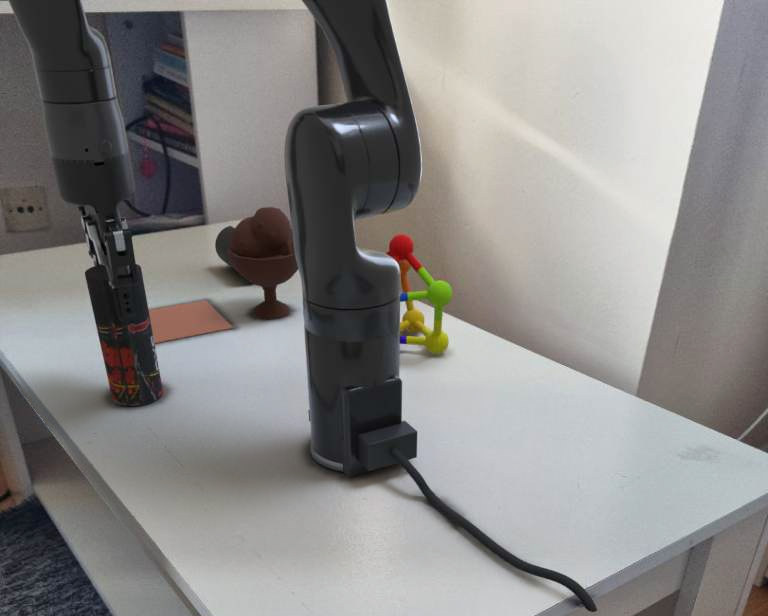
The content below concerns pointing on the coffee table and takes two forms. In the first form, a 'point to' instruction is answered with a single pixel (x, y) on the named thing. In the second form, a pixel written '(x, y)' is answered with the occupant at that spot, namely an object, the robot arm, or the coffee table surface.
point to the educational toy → (420, 298)
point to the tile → (185, 321)
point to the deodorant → (125, 342)
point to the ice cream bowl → (264, 256)
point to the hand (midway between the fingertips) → (121, 309)
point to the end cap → (224, 243)
